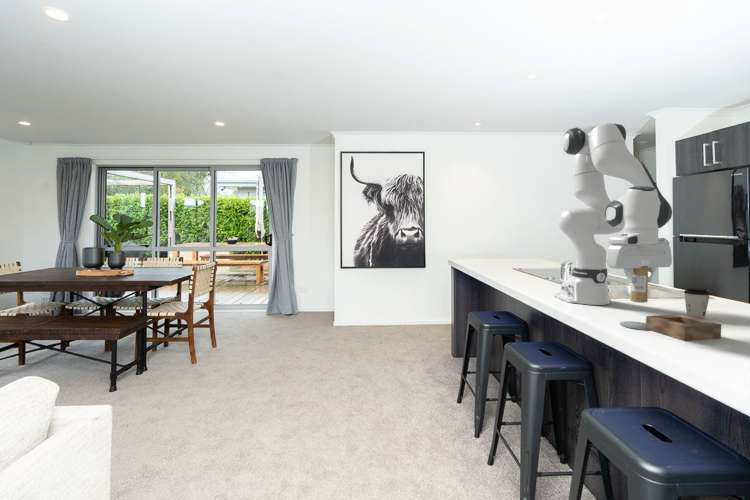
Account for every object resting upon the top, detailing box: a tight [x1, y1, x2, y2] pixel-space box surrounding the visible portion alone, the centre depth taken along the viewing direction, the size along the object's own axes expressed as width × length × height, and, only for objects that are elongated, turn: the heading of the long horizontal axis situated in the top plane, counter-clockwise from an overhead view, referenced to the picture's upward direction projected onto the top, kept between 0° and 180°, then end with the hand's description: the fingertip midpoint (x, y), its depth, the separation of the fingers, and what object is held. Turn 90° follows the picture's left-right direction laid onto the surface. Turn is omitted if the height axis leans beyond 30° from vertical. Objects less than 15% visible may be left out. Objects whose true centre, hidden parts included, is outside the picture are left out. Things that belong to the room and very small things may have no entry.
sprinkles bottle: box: [630, 260, 649, 304], centre depth 114 cm, size 5×5×13 cm
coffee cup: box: [683, 287, 711, 320], centre depth 124 cm, size 7×7×10 cm
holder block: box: [645, 313, 722, 342], centre depth 107 cm, size 12×12×4 cm
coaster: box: [619, 320, 651, 331], centre depth 115 cm, size 9×9×1 cm
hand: (639, 282), depth 114 cm, fingers closed on sprinkles bottle, 4 cm apart
